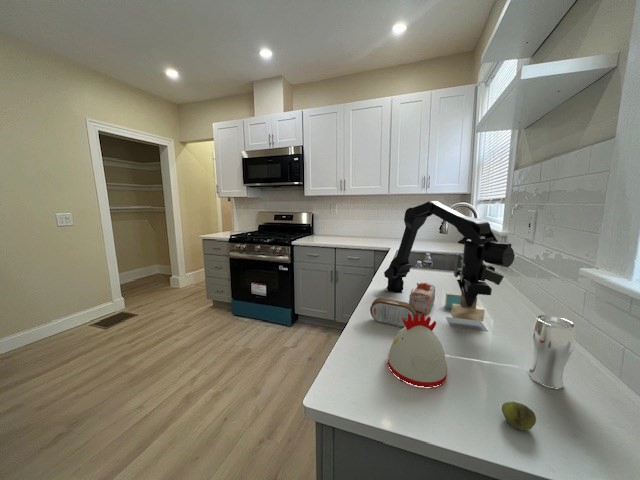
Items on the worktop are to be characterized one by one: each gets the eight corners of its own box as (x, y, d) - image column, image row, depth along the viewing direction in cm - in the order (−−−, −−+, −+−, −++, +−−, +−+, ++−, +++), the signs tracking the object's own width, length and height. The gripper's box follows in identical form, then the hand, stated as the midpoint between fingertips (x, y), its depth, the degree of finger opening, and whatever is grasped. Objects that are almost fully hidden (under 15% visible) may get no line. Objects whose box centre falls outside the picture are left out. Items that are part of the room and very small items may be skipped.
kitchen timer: (382, 350, 70) (385, 300, 67) (432, 351, 70) (436, 301, 67) (396, 388, 56) (399, 327, 54) (457, 389, 56) (464, 328, 53)
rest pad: (449, 327, 82) (450, 326, 82) (445, 317, 89) (445, 316, 89) (488, 332, 79) (488, 331, 79) (480, 322, 86) (480, 320, 86)
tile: (445, 308, 96) (447, 294, 95) (444, 306, 98) (446, 292, 97) (469, 311, 94) (470, 296, 93) (467, 309, 96) (469, 294, 95)
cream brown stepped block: (452, 317, 83) (454, 295, 82) (451, 314, 86) (453, 292, 84) (483, 321, 81) (486, 298, 80) (480, 317, 83) (483, 295, 82)
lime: (496, 416, 49) (499, 394, 48) (519, 415, 49) (523, 393, 48) (515, 438, 45) (518, 414, 44) (540, 436, 45) (544, 412, 44)
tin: (415, 326, 83) (417, 303, 81) (415, 331, 80) (416, 307, 78) (371, 317, 89) (371, 295, 87) (368, 321, 86) (369, 298, 85)
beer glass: (557, 395, 54) (569, 332, 51) (520, 375, 60) (529, 317, 58) (571, 384, 57) (583, 324, 55) (534, 366, 63) (543, 311, 61)
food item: (429, 317, 89) (432, 291, 88) (407, 312, 93) (408, 287, 92) (435, 303, 101) (437, 280, 99) (414, 299, 105) (416, 277, 103)
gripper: (515, 269, 69) (508, 321, 72) (490, 254, 87) (485, 296, 89) (470, 266, 72) (465, 316, 75) (455, 252, 90) (451, 293, 92)
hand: (468, 304), depth 83 cm, fingers closed on cream brown stepped block, 2 cm apart
